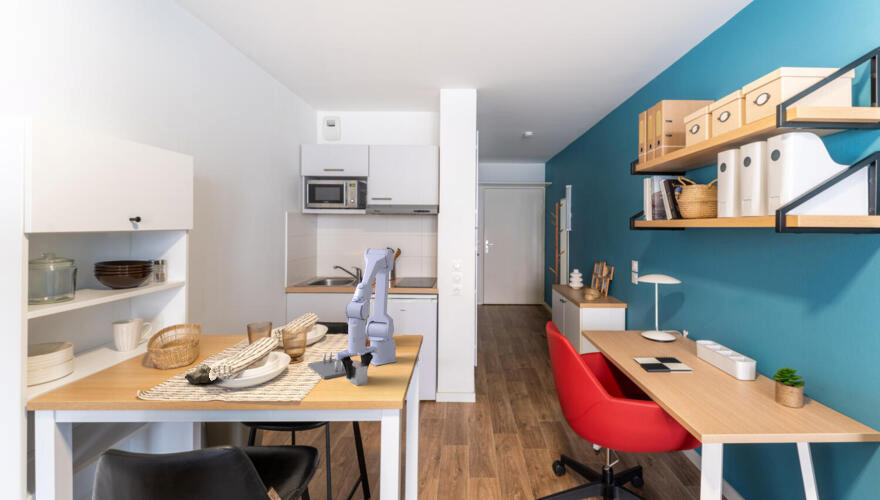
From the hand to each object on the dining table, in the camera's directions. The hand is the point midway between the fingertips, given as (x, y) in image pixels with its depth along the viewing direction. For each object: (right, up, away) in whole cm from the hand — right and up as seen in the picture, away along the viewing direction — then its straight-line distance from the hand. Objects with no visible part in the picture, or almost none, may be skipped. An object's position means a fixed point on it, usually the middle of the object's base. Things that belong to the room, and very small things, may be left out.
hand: (356, 376), depth 139 cm
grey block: (0, -2, 0) cm, 2 cm away
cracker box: (-7, +1, +40) cm, 41 cm away
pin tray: (-11, -1, +11) cm, 15 cm away
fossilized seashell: (-50, -1, -4) cm, 50 cm away
